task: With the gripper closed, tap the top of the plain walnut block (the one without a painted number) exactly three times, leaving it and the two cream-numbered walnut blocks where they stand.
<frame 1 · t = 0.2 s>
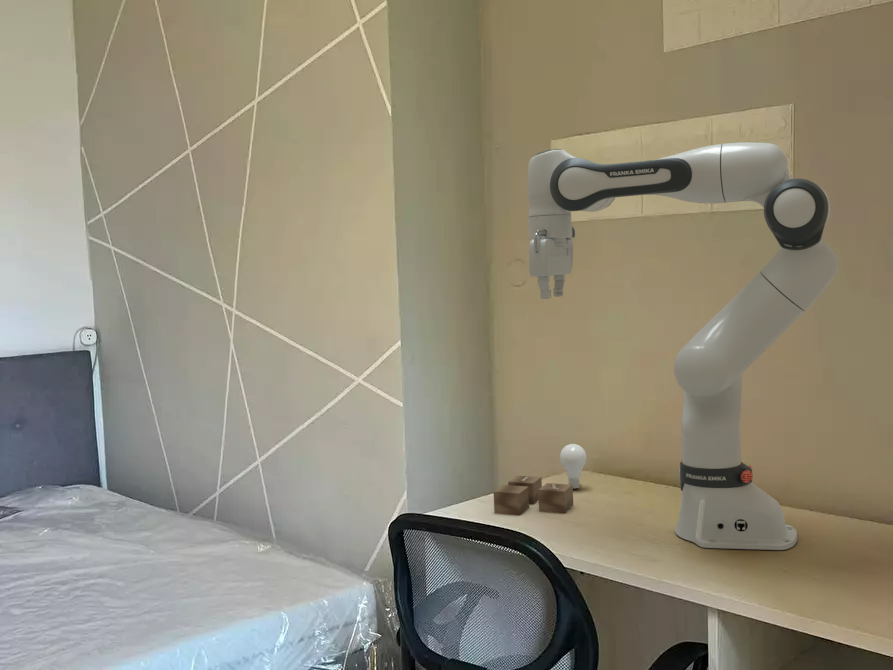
hand: (552, 297, 183), 47 cm above the table, fingers open, 8 cm apart
plain block: (512, 511, 197), on the table
numbered block 7: (556, 509, 197), on the table
numbered block 1: (525, 500, 205), on the table
lightbulb: (574, 490, 212), on the table
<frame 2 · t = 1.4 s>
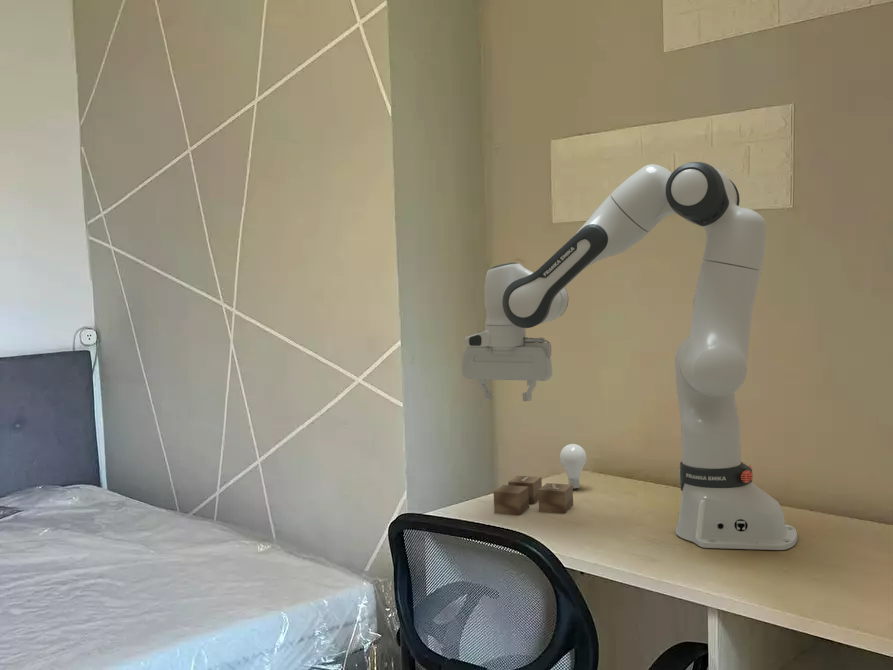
hand: (507, 400, 195), 25 cm above the table, fingers open, 8 cm apart
nothing on the table moved.
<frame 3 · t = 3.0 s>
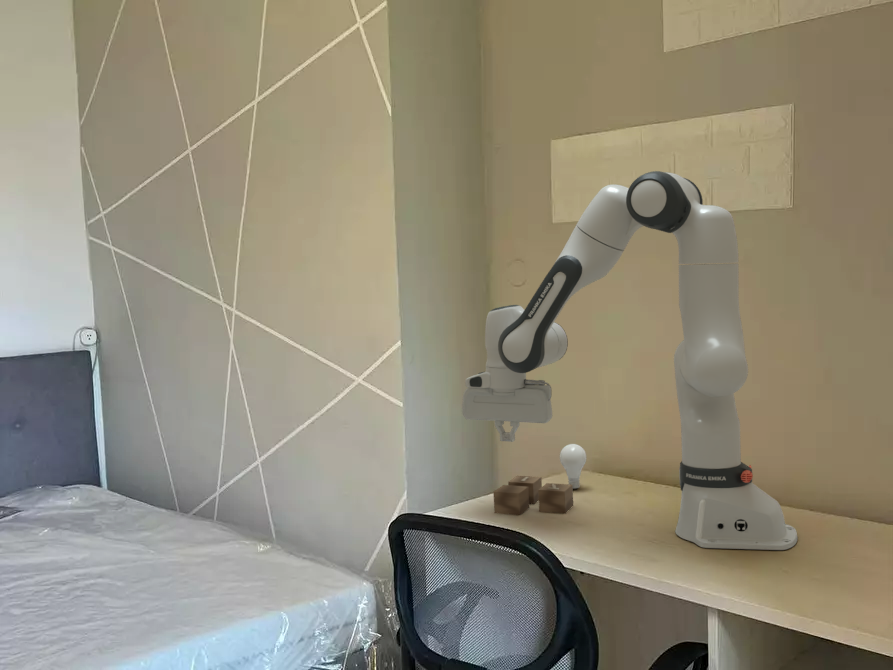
hand: (507, 441, 196), 16 cm above the table, fingers closed
nothing on the table moved.
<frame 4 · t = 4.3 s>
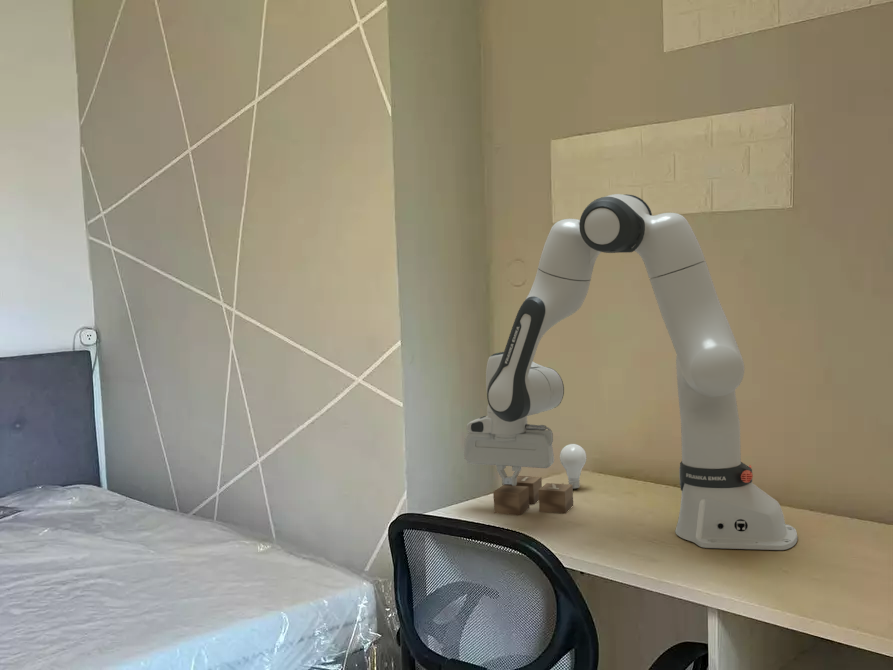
hand: (509, 485, 196), 6 cm above the table, fingers closed
nothing on the table moved.
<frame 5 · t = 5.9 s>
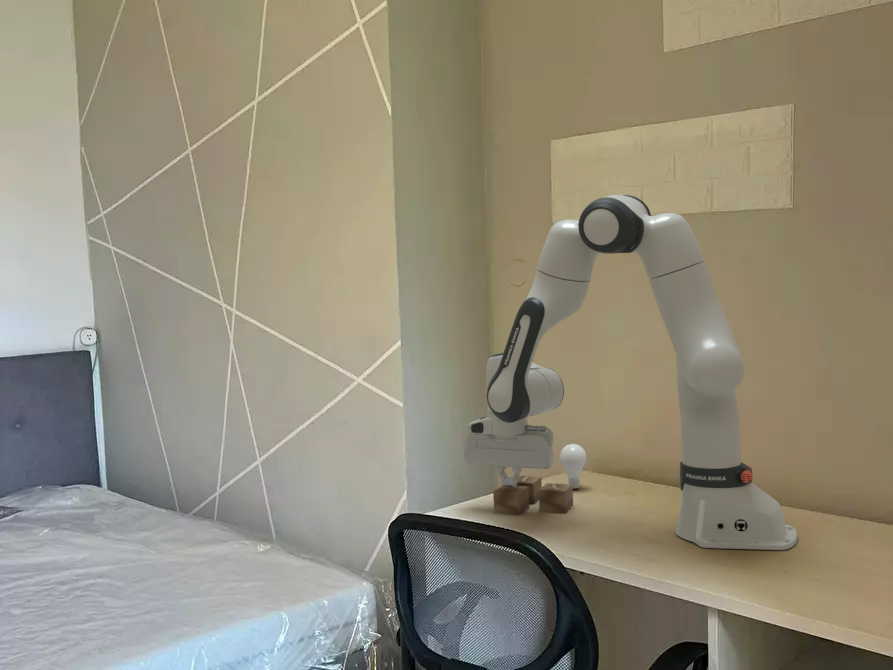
hand: (509, 486, 196), 6 cm above the table, fingers closed
nothing on the table moved.
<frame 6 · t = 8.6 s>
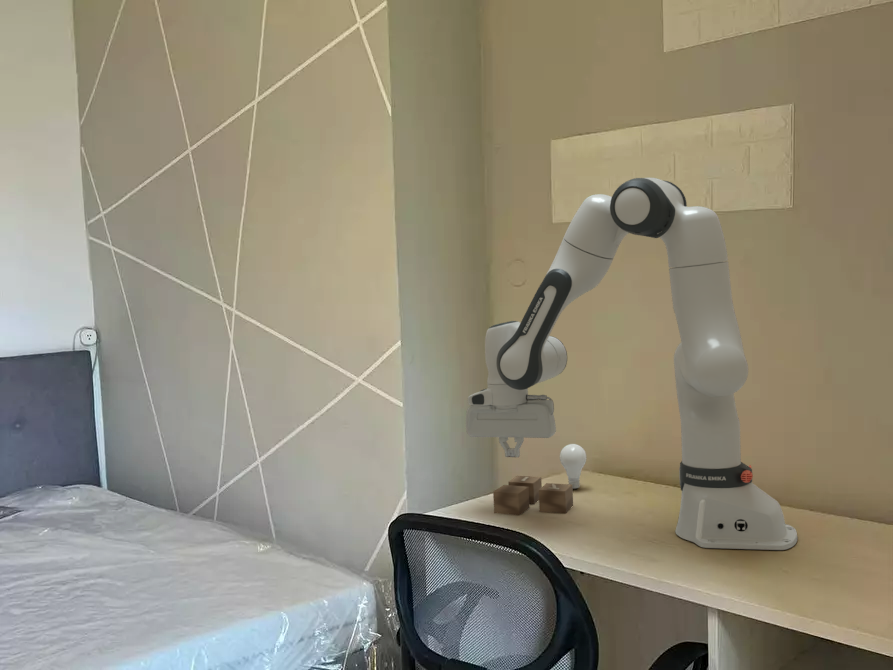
hand: (512, 456, 196), 12 cm above the table, fingers closed
nothing on the table moved.
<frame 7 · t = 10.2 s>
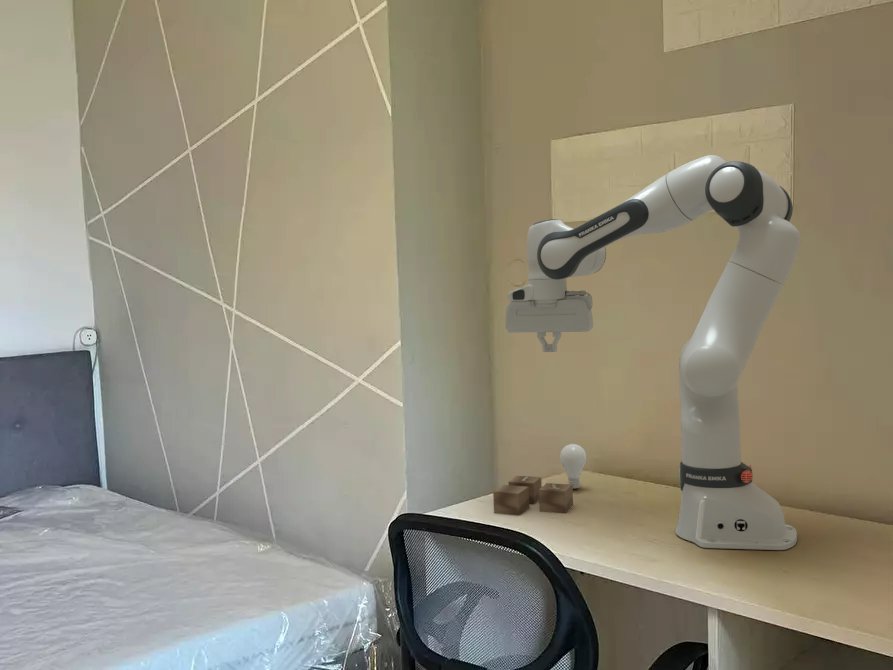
hand: (549, 351, 203), 34 cm above the table, fingers closed
nothing on the table moved.
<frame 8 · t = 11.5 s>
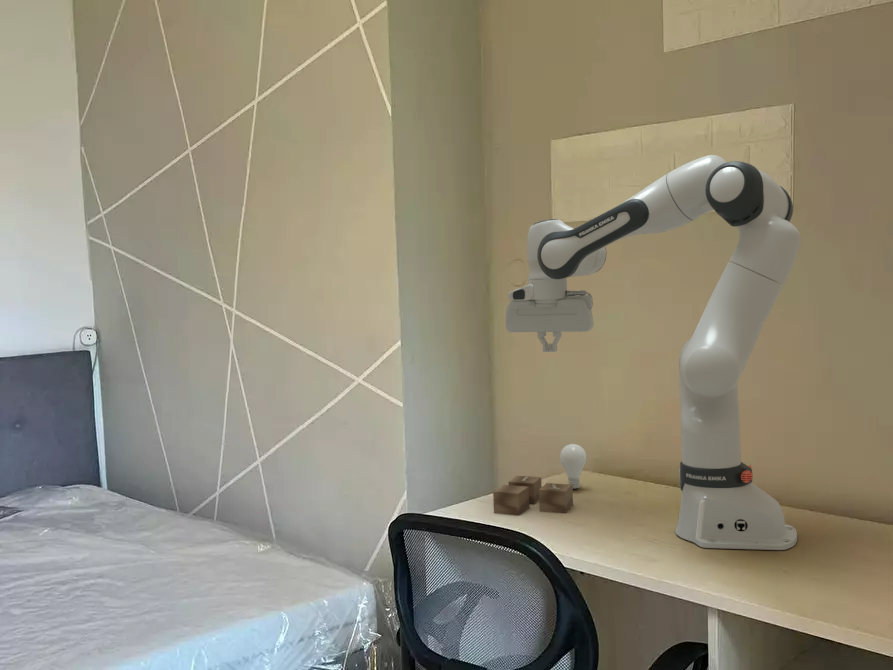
hand: (550, 351, 203), 34 cm above the table, fingers closed
nothing on the table moved.
at the end: plain block moved 0.2 cm from its start; plain block tilted 0°; numbered block 1 moved 0.2 cm from its start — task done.
